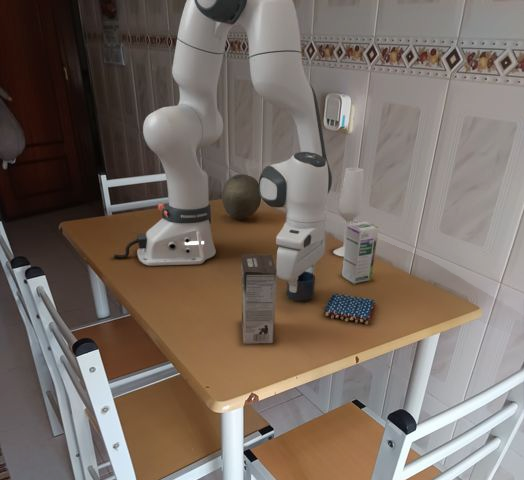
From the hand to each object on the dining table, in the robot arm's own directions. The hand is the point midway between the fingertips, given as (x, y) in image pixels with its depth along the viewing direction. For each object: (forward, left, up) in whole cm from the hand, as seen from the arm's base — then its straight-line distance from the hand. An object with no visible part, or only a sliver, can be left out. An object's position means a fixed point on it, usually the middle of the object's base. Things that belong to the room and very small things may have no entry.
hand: (300, 285), depth 119 cm
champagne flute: (+25, +24, -3) cm, 35 cm away
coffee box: (-16, -14, -3) cm, 21 cm away
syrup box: (+19, +6, -3) cm, 20 cm away
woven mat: (+8, -11, -3) cm, 14 cm away
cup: (0, 0, -3) cm, 3 cm away
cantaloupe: (+5, +63, -3) cm, 63 cm away
